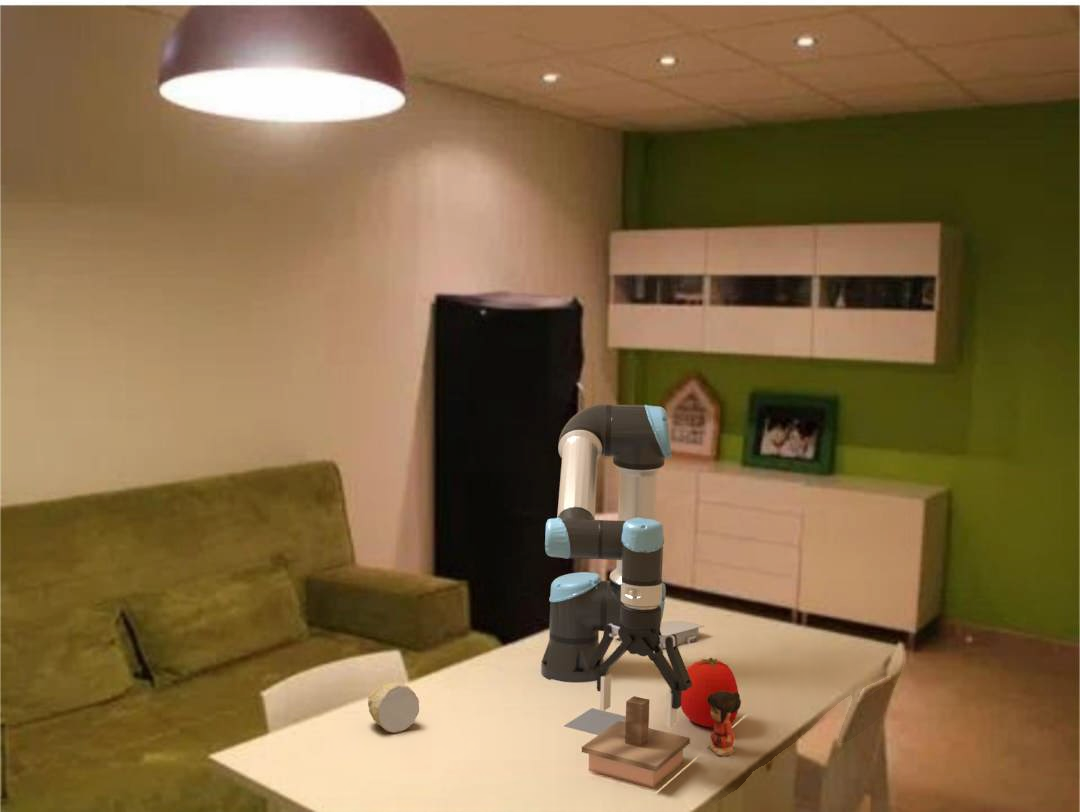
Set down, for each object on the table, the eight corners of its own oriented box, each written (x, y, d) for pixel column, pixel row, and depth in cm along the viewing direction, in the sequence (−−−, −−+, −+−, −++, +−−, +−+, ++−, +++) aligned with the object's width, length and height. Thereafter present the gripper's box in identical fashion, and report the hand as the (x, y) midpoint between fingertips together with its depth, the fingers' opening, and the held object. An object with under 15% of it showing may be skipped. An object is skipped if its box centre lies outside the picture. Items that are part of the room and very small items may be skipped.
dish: (588, 772, 192) (589, 751, 191) (620, 748, 203) (621, 728, 202) (652, 790, 185) (653, 768, 185) (682, 764, 196) (683, 744, 196)
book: (711, 640, 275) (712, 626, 275) (652, 657, 260) (652, 642, 260) (668, 627, 287) (668, 613, 286) (608, 642, 271) (609, 627, 271)
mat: (563, 727, 213) (563, 725, 212) (591, 709, 223) (591, 708, 223) (615, 741, 206) (615, 739, 206) (642, 722, 216) (642, 720, 216)
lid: (581, 752, 191) (582, 704, 190) (618, 725, 204) (620, 681, 203) (656, 771, 183) (657, 722, 183) (689, 743, 196) (691, 696, 195)
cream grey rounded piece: (379, 708, 202) (364, 674, 210) (376, 746, 207) (362, 711, 215) (426, 698, 206) (410, 664, 214) (422, 735, 211) (406, 701, 219)
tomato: (746, 723, 217) (748, 657, 216) (726, 741, 207) (729, 672, 206) (689, 710, 223) (691, 646, 222) (668, 728, 214) (670, 660, 212)
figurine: (716, 741, 207) (718, 682, 206) (741, 749, 204) (744, 689, 203) (700, 751, 202) (702, 691, 201) (725, 759, 199) (728, 698, 198)
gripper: (571, 597, 195) (569, 708, 196) (695, 620, 182) (691, 738, 183) (591, 589, 201) (588, 696, 203) (712, 610, 188) (708, 724, 190)
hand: (637, 716), depth 193 cm, fingers open, 13 cm apart
